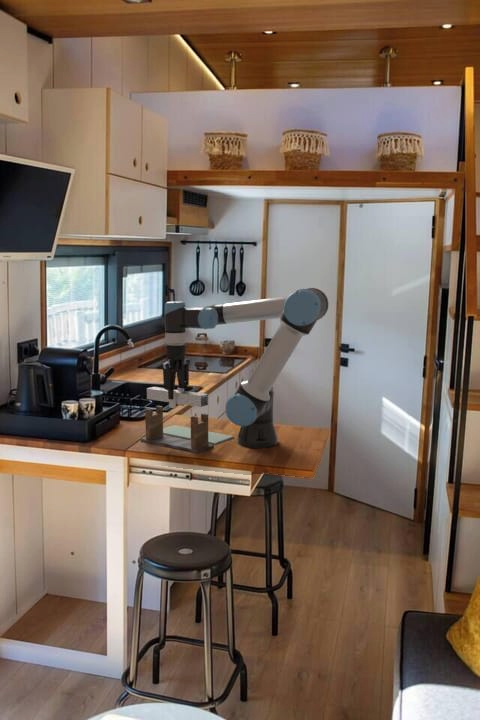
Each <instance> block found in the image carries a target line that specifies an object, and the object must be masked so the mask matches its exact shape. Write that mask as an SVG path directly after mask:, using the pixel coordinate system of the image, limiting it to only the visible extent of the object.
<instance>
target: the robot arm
mask: <svg viewBox="0 0 480 720" xmlns="http://www.w3.org/2000/svg"><path fill="white" fill-rule="evenodd" d="M328 310H329V298H328V297H327V295H326V294H325V292H323V291H322V290H320V289H318V288H315V287H309V288H300V289H297V290H294V291H293V292H291V293H290V294H289V295H286V296H278V297H269V298H262V299H254V300H247V301H246V300H245V301H244V300H243V301H237V302H227V303H221V304H219V303H218V304H216V303H215V304H211V305H207V306H201V307H200V306H199V307H187V306H186V303H185V301H177V300H176V301H167V302H165V303H164V314H163V315H164V333H165V334H164V337H165V338H164V339H165V345H164V346H165V347H164V348H165V351H164V352H165V355H166V356H167V358H166V361H165V362H163V363H161V367H162V378H163V381H162V382H163V388H164V389H166V390H168V398H169V402H168V405H169V407H168V408H169V409H171V408H172V409H176V408H177V406H181V407H184V406H185V405H184V404H178V403H176V391H175V390H181V391H185V390H186V389H187V388H188V386H189V383H190V379H189V378H190V372H189V371H190V369H189V368H190V363H191V360H190V359H189V358H188V359H187V358H186V357H185V355H186V353H187V345H186V343H187V335H186V331H187V330H186V329H201V330H203V329H204V330H211V329H212V330H213V329H215V328H216V326H219V325H221V326H222V325H226V324H228V325H229V324H236V323H246V322H247V323H249V322H254V321H256V322H257V321H266V320H276V319H279V322H280V324H279V326H278V328H277V330H276V331H275V333H274V334H273V336H272V338H271V340H270V341H269V343H268V345H267V347H266V348H265V350H264V351H263V354H262V355H261V357H260V358H259V360H258V362H257V364H256V365H255V367H254V369H253V370H252V372H251V373H250V376H249V377H248V379H247V380H242V381H241V383H240V384H239V386H238V388H237V389H236V391H235V393H234V394H233V395H231V396H230V398H228V399H227V401H226V404H225V414H226V416H227V418H228V420H229V421H230V422H231V423H232V424H233V425H236V426H237V427H238V426H239V427H240V429H239V431H238V435H237V444H238V445H239V446H242V447H246V448H255V449H262V448H271V447H274V446H276V445H278V435H277V432H276V428H275V424H274V394H275V391H274V384H275V383H276V381H277V380H278V378H279V376H280V375H281V373H282V371H283V369H284V368H285V366H286V365H287V362H288V361H289V360H290V357H292V354H293V353H294V351H295V349H296V347H297V346H298V345H299V343H300V341H301V339H302V337H305V336H308V335H309V334H310V333H311V331H312V330H313V328H314V326H315V324H316V323H317V322H318V321H319V320H321V319H323V317H325V315H326V314H327V312H328ZM176 378H177V384H178V387H177V388H176V389H175V386H176Z"/></svg>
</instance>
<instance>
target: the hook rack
mask: <svg viewBox="0 0 480 720" xmlns="http://www.w3.org/2000/svg"><path fill="white" fill-rule="evenodd" d="M144 410H145V411H144V412H145V413H144V414H145V415H144V416H145V417H144V418H145V436H144V437H141V438H140V442H144V443H150V444H153V445H159V446H163V447H168V448H173V449H177V450H182V451H185V452H186V451H187V452H191V453H196V454H201V453H203V452H205V451H209V450H211V449H214V448H215V446H214V445H215V444H210V443H208V431H209V414H208V413H203V412H202V413H200V415H201V416H200V420H199V417H198V416H190V428H191V440H190V439H185V438H180V437H175V436H170V435H165V434H163V428H164V416H163V415H164V406H162V405H155V412H153V409H152V408H145V409H144Z"/></svg>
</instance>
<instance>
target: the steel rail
mask: <svg viewBox="0 0 480 720" xmlns="http://www.w3.org/2000/svg"><path fill="white" fill-rule="evenodd" d="M174 390H175V391H176V404H177V405H178V404H184V406H193V407H199V408H202V407H207V406H208V405H209V394H208V393H202V392H194V391H187V390H186V391H181V390H177V389H174ZM146 400H152V401H158V402H159V401H160V402H164V403H165V402H166V403H169V398H168V390H166V389H164V387H159V386H151V387H148V388H147V387H146Z"/></svg>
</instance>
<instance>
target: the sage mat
mask: <svg viewBox="0 0 480 720" xmlns="http://www.w3.org/2000/svg"><path fill="white" fill-rule="evenodd" d="M163 435H167V436H172V437H177V438H182V439H187V440H191V427H186V426H181V425H177V424H173V425H171V426H170V425H169V426H167V427H163ZM234 438H235V436H234V435H229V434H223V433H218V432H214V431H213V432H212V431H209V430H208V444H211V445H218V444H221V443H223V442H226V441H229V440H231V439H234Z"/></svg>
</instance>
